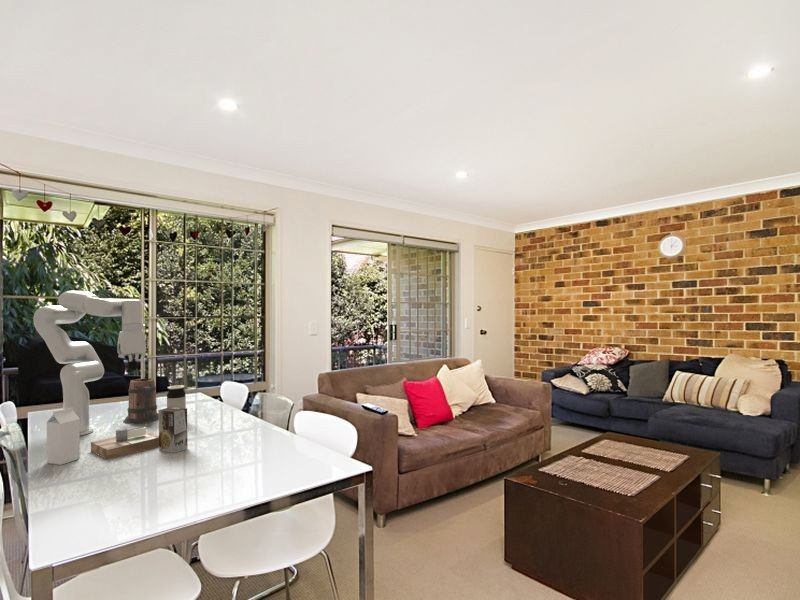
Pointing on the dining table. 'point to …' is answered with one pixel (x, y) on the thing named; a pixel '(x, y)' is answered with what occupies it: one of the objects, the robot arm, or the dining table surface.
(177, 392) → the travel mug
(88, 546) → the dining table surface
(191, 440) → the dining table surface
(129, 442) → the board
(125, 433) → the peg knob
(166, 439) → the coffee box
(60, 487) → the dining table surface
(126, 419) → the tankard
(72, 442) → the milk carton
